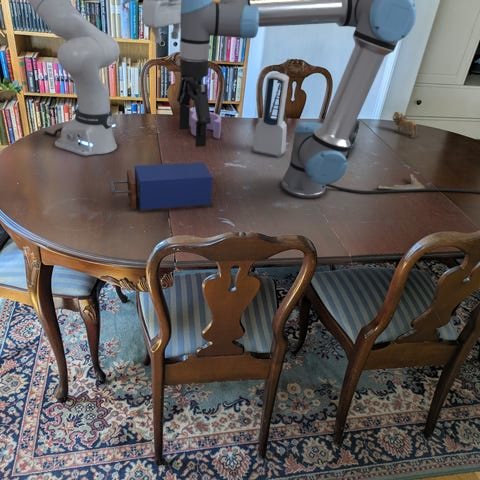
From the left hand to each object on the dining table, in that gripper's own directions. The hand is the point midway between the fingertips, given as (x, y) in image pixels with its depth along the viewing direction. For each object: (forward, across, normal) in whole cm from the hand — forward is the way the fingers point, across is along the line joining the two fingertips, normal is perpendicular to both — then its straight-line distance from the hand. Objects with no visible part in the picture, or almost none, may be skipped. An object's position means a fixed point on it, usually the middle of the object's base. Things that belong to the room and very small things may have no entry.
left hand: (166, 40), depth 142 cm
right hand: (+20, +19, +20) cm, 34 cm away
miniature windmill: (+43, -67, +17) cm, 82 cm away
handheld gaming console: (+42, -60, +53) cm, 91 cm away
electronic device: (+42, -36, +25) cm, 61 cm away
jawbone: (+42, -36, +76) cm, 94 cm away
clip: (+43, -42, -7) cm, 60 cm away
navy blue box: (+42, +19, +14) cm, 49 cm away
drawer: (+41, +23, +10) cm, 49 cm away
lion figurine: (+42, -98, +71) cm, 128 cm away
